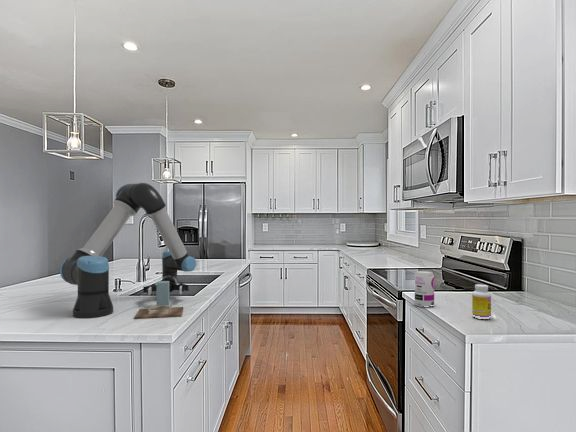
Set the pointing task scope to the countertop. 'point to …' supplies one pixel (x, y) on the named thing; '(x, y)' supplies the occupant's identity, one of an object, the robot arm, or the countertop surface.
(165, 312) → the board
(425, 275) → the supplement can
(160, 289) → the blue-grey tall block
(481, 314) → the supplement bottle
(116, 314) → the countertop surface
